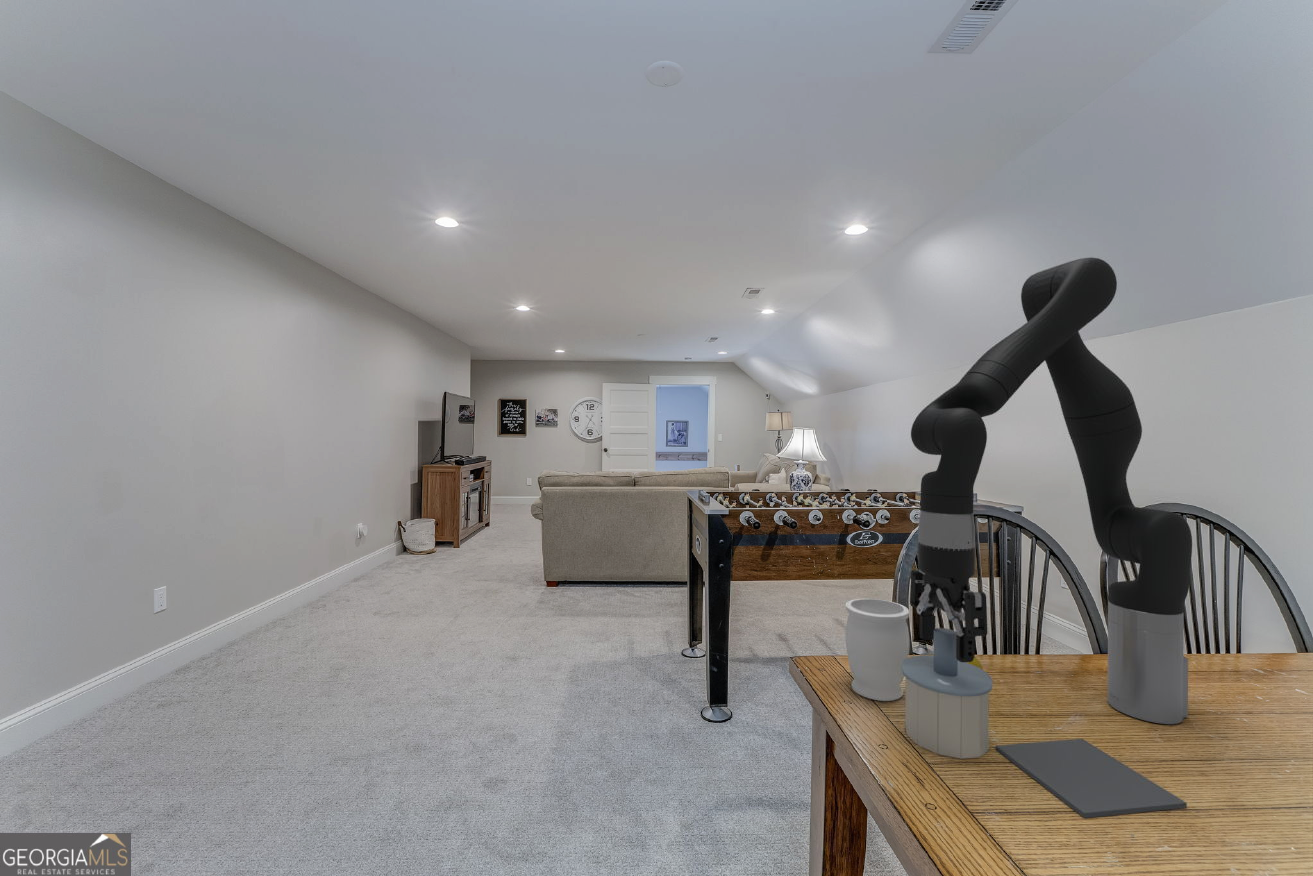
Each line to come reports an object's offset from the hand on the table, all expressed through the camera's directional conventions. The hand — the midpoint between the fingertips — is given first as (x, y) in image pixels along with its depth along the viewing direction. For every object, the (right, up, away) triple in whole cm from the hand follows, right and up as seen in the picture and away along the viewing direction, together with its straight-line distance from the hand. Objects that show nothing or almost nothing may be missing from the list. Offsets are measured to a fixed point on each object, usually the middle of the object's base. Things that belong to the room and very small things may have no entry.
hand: (945, 649), depth 81 cm
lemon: (+10, -13, +12) cm, 21 cm away
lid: (0, -4, 0) cm, 4 cm away
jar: (-4, -13, +15) cm, 20 cm away
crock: (0, -13, 0) cm, 13 cm away
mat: (+13, -13, -9) cm, 21 cm away
